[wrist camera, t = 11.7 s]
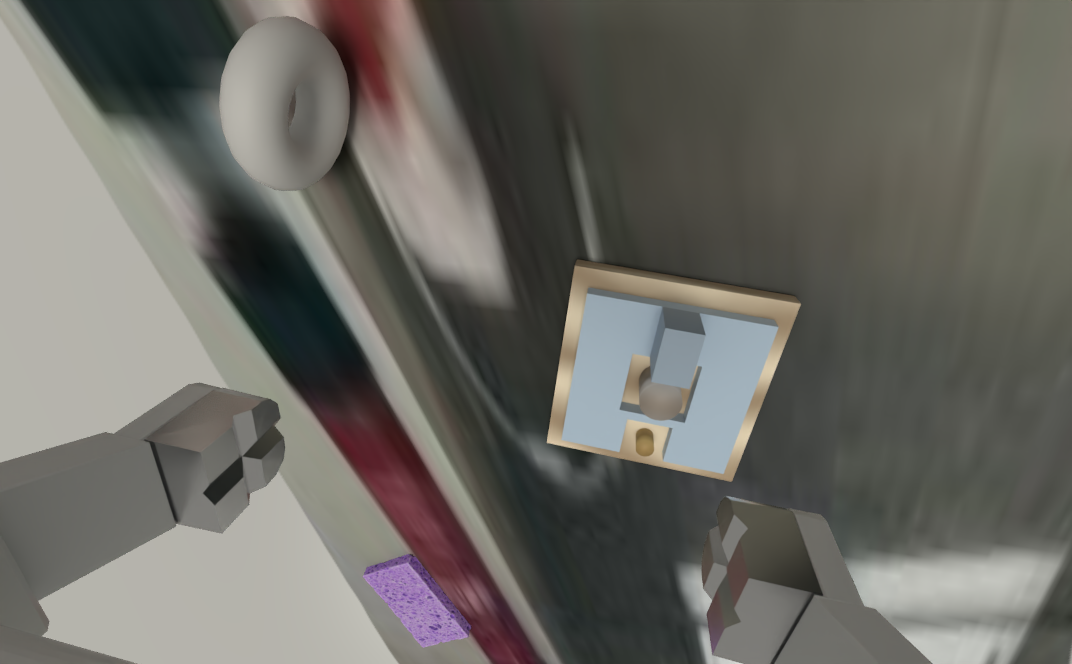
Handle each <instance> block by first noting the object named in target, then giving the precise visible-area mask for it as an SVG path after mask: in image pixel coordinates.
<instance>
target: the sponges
mask: <svg viewBox="0 0 1072 664" xmlns="http://www.w3.org/2000/svg"><path fill="white" fill-rule="evenodd" d="M363 578H365V580H366V581H367V582H368V583H369V584H370V586H372V587H373V588H374V590H375V591H376V592H377V594H378V595H379V596H381V598H382V599H383V600H385V603H388V606H389V607H390V608H391V610H392V611H393V612H394V613H395V615H396V616H398V617H399V618H400V619H401V622H402V623H403V624H404V626H405V627H406V628H407V629H408V631H409V632H411V633H412V635H413V637H414V638H415V639H416V640H417V641H418V643H419V644H420V645H421V646H422V647H427V646H430V645H435V644H439V642H443V643H444V642H447V641H450V640H455V639H462V638H465V637H466V638H467V637H469V630H470V629H471V625H470V624H469V623H468V622H467V620H466V619H465V618H464V617H463V616H462V615H461V613H460V612H459V611H458V610H457V609H456V607H455V606H454V604H453V603H452V602H451V601H450V600H449V598H448V597H447V596H446V594H444V593H443V591H442V589H441V588H440V587H439V586H438V584H437V583H436V582H435V581H434V579H433V578H432V577H431V576H430V574H429V573H428V572H427V571H426V570H425V568H424V567H423V566H422V564H421V563H420V562H419V561H418V559H417V558H416V557H415V556H412V555H409V554H407V555H404V556H402V557H398V558H395V559H392V560H389V561H387V562H385V563H380V564H377V565H373V566H370V567H367V568H366V571H365V573H364V576H363Z"/></svg>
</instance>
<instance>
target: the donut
mask: <svg viewBox="0 0 1072 664" xmlns="http://www.w3.org/2000/svg"><path fill="white" fill-rule="evenodd" d="M294 91H296V107H295V115H294V118H293V121H292V123H291V126H290V127H289V126H288V114H289V107H290V102H291V99H292V96H293V94H294ZM219 107H220V114H221V121H222V128H223V132H224V135H225V138H226V140H227V142H228V145H229V147H230V150H231V152H232V155H233V157H234V158H235V159H236V160H237V162H238V163H239V164H240V165H241V166H242V168H243V169H244V170H245V171H246V172H247V174H248V175H249V176H250V177H251V178H253V179H254V180H256V181H258V182H260V183H262V184H264V185H266V186H268V187H270V188H272V189H274V190H280V191H296V190H301V189H304V188H306V187H308V186H310V185H312V184H314V183H316V182H317V181H319V180H320V179H321V178H322V177H323V176H324V175H325V174H326V173H327V172H328V171H329V170H330V169H331V168H332V166H333V164H334V162H335V160H336V159H337V157H338V155H339V153H340V151H341V148H342V145H343V142H344V139H345V136H346V133H347V127H348V121H349V115H350V92H349V86H348V80H347V74H346V71H345V69H344V66H343V64H342V61H341V59H340V56H339V54H338V52H337V50H336V49H335V47H334V46H333V45H332V44H331V42H330V41H329V40H328V38H327V37H326V36H325V35H324V34H323V33H322V32H321V31H320V30H319V29H317V28H315V27H313V26H311V25H309V24H308V23H306V22H304V21H302V20H300V19H298V18H296V17H288V16H286V17H270V18H267V19H264V20H262V21H260V22H259V23H257V24H255V25H254V26H252V27H251V28H249V29H248V30H246V31H245V32H244V34H243V35H242V37H241V38H240V40H239V41H238V42H237V44H236V45H235V47H234V48H233V49H232V51H231V52H230V54H229V57H228V60H227V63H226V66H225V69H224V72H223V75H222V78H221V89H220V100H219Z"/></svg>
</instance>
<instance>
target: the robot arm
mask: <svg viewBox="0 0 1072 664" xmlns="http://www.w3.org/2000/svg"><path fill="white" fill-rule="evenodd" d="M279 419H280V413H279V408H278V404H277V403H276V402H274V401H272V400H271V399H268V398H263V397H259V396H255V395H251V394H247V393H242V392H238V391H234V390H230V389H226V388H219V387H215V386H211V385H207V384H203V383H194V384H188V385H187V386H185V387H184V388H182V389H181V390H179V391H178V392H176V393H175V394H173V395H172V396H171V397H169V398H167V399H166V400H164V401H163V402H161V403H160V404H158V405H157V406H155V407H154V408H152V409H150V410H149V411H147V412H146V413H144V414H143V415H142V416H140V417H138V418H137V419H135V420H134V421H132V422H131V423H129V424H128V425H126V426H125V427H123V428H122V429H120V430H119V431H117V432H116V433H114V434H112V433H107V432H105V433H101V434H97V435H94V436H91V437H87V438H84V439H80V440H77V441H74V442H70V443H67V444H63V445H60V446H56V447H53V448H49V449H46V450H42V451H39V452H36V453H32V454H29V455H25V456H22V457H19V458H15V459H12V460H8V461H5V462H2V463H0V664H137V663H133V662H130V661H126V660H123V659H119V658H116V657H112V656H109V655H105V654H101V653H98V652H94V651H91V650H87V649H84V648H81V647H77V646H74V645H70V644H66V643H63V642H59V641H56V640H52V639H49V638H45V637H42V635H43V634H44V633H45V632H47V630H48V625H49V620H48V618H47V616H46V615H45V613H44V611H43V609H42V607H41V606H40V604H39V602H38V600H40V599H42V598H44V597H46V596H48V595H50V594H52V593H53V592H55V591H57V590H59V589H60V588H62V587H65V586H67V585H68V584H70V583H72V582H74V581H76V580H78V579H79V578H81V577H83V576H85V575H87V574H89V573H90V572H92V571H94V570H96V569H98V568H100V567H102V566H104V565H105V564H107V563H109V562H111V561H113V560H115V559H117V558H119V557H120V556H122V555H124V554H126V553H128V552H130V551H131V550H133V549H135V548H137V547H139V546H140V545H142V544H144V543H146V542H148V541H150V540H152V539H154V538H156V537H157V536H159V535H161V534H163V533H165V532H166V531H169V530H170V529H172V528H174V527H175V526H176V524H181V525H185V526H189V527H194V528H199V529H204V530H208V531H213V532H217V533H223V532H224V531H225V530H226V529H227V528H228V527H229V525H230V524H231V523H232V522H233V521H234V520H235V519H236V518H237V517H238V516H239V515H240V514H241V513H242V512H243V510H244V509H245V508H246V507H247V506H248V505H249V497H250V493H252V492H254V491H256V490H259V489H261V488H263V487H265V486H267V484H268V483H269V482H270V481H271V480H272V479H273V478H274V477H275V475H276V474H277V472H278V470H279V468H280V466H281V464H282V461H283V459H284V451H285V444H284V437H283V436H282V434H281V433H280V432H279V431H278V429H277V428H276V427H275V424H276V423H277V422H278V421H279ZM716 514H717V519H718V525H719V526H717V527H715V528H713V529H712V530H710V531H709V532H708V535H707V538H706V541H705V544H704V549H703V556H702V581H703V589H704V590H705V591H706V593H707V594H708V595H709V597H710V598H711V599H712V603H711V605H710V607H709V610H708V612H707V619H708V627H709V634H710V641H711V648H712V655H714V656H718V657H721V658H725V659H728V660H732V661H736V662H739V663H743V664H932V663H931V662H930V661H929V660H928V659H927V658H926V657H925V656H924V655H923V654H922V653H921V652H920V651H919V650H918V649H917V648H916V647H914V646H913V645H912V644H911V643H910V642H909V641H908V640H907V639H906V638H905V637H904V636H903V635H902V634H901V633H900V632H899V631H898V630H897V629H896V628H894V627H893V626H892V625H891V624H890V623H889V622H888V621H887V620H886V619H885V618H884V617H883V616H882V615H881V614H880V613H879V612H878V611H877V610H876V609H873V608H869V607H865V606H864V604H863V602H862V600H861V598H860V595H859V593H858V591H857V589H856V586H855V584H854V582H853V580H852V577H851V575H850V573H849V571H848V569H847V566H846V564H845V562H844V560H843V557H842V555H841V553H840V551H839V548H838V546H837V544H836V542H835V539H834V537H833V535H832V533H831V530H830V528H829V526H828V524H827V521H826V520H825V519H824V518H823V517H822V516H821V515H820V514H815V513H810V512H804V511H799V510H794V509H789V508H788V509H785V508H782V507H777V506H772V505H767V504H762V503H757V502H752V501H747V500H743V499H738V498H733V497H728V496H725V497H724V498H723V499H722V501H721V502H720V505H719V507H718V509H717V512H716Z"/></svg>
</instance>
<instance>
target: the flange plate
mask: <svg viewBox="0 0 1072 664" xmlns="http://www.w3.org/2000/svg"><path fill="white" fill-rule="evenodd" d="M778 328H779V327H778V325H777V323H776V322H775V320H772V319H766V318H761V317H755V316H749V315H743V314H738V313H732V312H726V311H721V310H715V309H709V308H703V307H698V306H692V305H686V304H680V303H675V302H669V301H663V300H658V299H652V298H646V297H640V296H635V295H629V294H623V293H617V292H612V291H606V290H600V289H595V288H588V292H587V297H586V302H585V308H584V314H583V320H582V325H581V331H580V337H579V342H578V348H577V354H576V360H575V365H574V371H573V377H572V382H571V388H570V394H569V399H568V405H567V411H566V417H565V422H564V428H563V434H562V439H561V440H564V441H569V442H573V443H578V444H583V445H588V446H592V447H597V448H602V449H607V450H611V451H616V452H619V451H620V447H621V443H622V439H623V435H624V431H625V427H626V423H627V419H629V420H634V421H639V422H644V423H649V424H654V425H659V426H664V427H669V430H668V434H667V437H666V441H665V444H664V447H663V451H662V456H663V461H664V462H669V463H673V464H678V465H683V466H688V467H692V468H697V469H702V470H707V471H712V472H716V473H721V474H724V471H725V469H726V466H727V463H728V461H729V458H730V455H731V453H732V450H733V447H734V445H735V442H736V439H737V437H738V434H739V431H740V429H741V426H742V424H743V421H744V418H745V416H746V413H747V410H748V408H749V405H750V402H751V400H752V397H753V394H754V392H755V389H756V386H757V384H758V381H759V378H760V376H761V373H762V370H763V368H764V365H765V362H766V360H767V357H768V354H769V352H770V349H771V346H772V344H773V341H774V339H775V336H776V333H777V331H778ZM632 354H637V355H642V356H648V357H650V369H651V382H654V383H660V384H665V385H670V386H675V387H680V388H686V389H690V386H691V382H692V379H693V376H694V373H695V369H696V366H698V369H697V372H696V375H695V378H694V382H693V385H692V388H691V391H690V395H689V398H688V401H687V404H686V408H685V411H684V414H682V413H678V414H677V415H676V416H675V417H673V418H671V419H669V420H664V421H658V420H654V419H651V418H649V417H647V416H646V415H645V414H644V413H643V412H642V411H641V409H640V406H639V405H636V404H631V403H626V402H621V401H622V397H623V393H624V388H625V384H626V380H627V376H628V371H629V367H630V363H631V359H632Z"/></svg>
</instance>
